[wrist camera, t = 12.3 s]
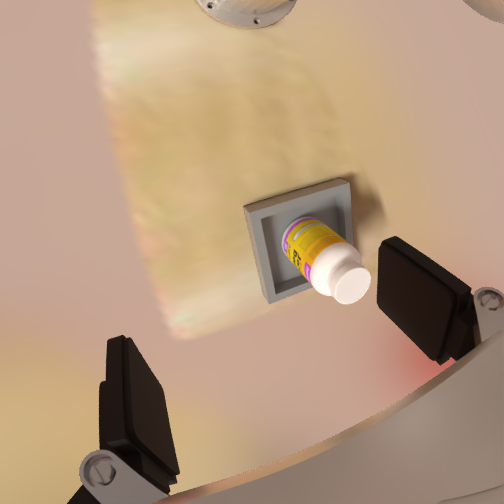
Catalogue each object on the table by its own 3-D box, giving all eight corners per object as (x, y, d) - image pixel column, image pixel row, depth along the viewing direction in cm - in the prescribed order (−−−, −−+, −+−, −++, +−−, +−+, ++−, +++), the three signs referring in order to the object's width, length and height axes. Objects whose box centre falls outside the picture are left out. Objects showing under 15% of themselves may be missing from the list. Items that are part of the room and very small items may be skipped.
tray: (243, 206, 40) (249, 212, 37) (339, 177, 42) (349, 182, 40) (263, 294, 47) (269, 304, 45) (345, 262, 49) (354, 270, 47)
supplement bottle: (271, 233, 42) (318, 284, 31) (312, 205, 42) (370, 246, 31) (292, 268, 46) (338, 322, 35) (329, 241, 46) (383, 287, 35)
